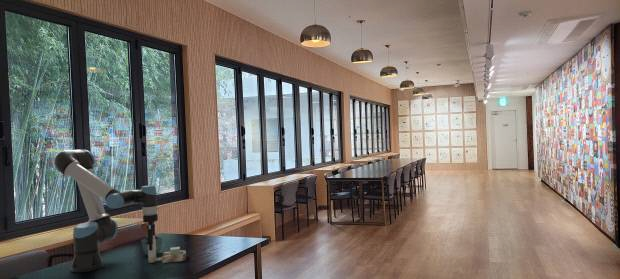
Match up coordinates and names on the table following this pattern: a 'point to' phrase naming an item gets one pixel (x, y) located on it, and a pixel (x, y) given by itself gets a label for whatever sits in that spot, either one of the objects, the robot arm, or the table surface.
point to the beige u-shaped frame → (174, 257)
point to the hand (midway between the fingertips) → (152, 253)
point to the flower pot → (158, 245)
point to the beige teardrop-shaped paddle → (153, 258)
